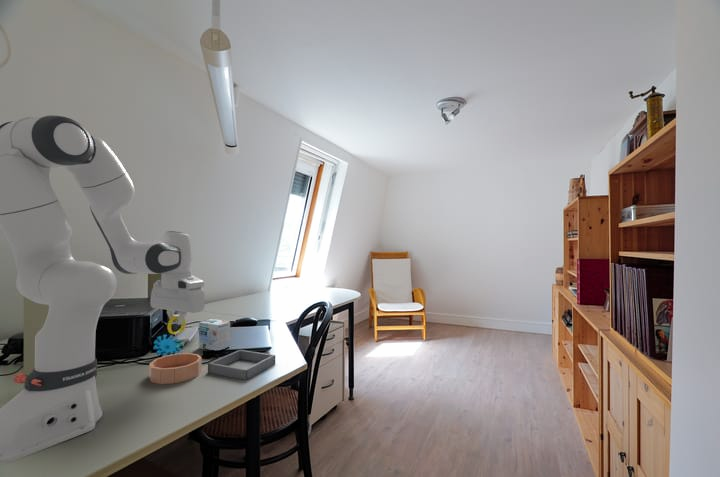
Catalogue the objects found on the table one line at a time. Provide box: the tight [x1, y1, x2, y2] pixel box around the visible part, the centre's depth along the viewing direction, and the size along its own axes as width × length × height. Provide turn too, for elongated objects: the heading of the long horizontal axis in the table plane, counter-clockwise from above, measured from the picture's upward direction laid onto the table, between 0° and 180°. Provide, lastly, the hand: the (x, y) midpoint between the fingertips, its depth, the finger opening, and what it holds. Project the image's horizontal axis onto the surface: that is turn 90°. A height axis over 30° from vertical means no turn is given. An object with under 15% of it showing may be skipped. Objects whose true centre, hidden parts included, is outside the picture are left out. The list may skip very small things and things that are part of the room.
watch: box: [167, 314, 186, 335], centre depth 114 cm, size 6×3×6 cm, turn 160°
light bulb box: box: [198, 318, 231, 350], centre depth 142 cm, size 11×7×11 cm, turn 65°
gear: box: [152, 334, 184, 357], centre depth 133 cm, size 11×6×10 cm
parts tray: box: [207, 349, 276, 381], centre depth 120 cm, size 16×16×3 cm
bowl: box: [148, 352, 203, 385], centre depth 114 cm, size 15×15×4 cm
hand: (176, 323), depth 114 cm, fingers closed on watch
